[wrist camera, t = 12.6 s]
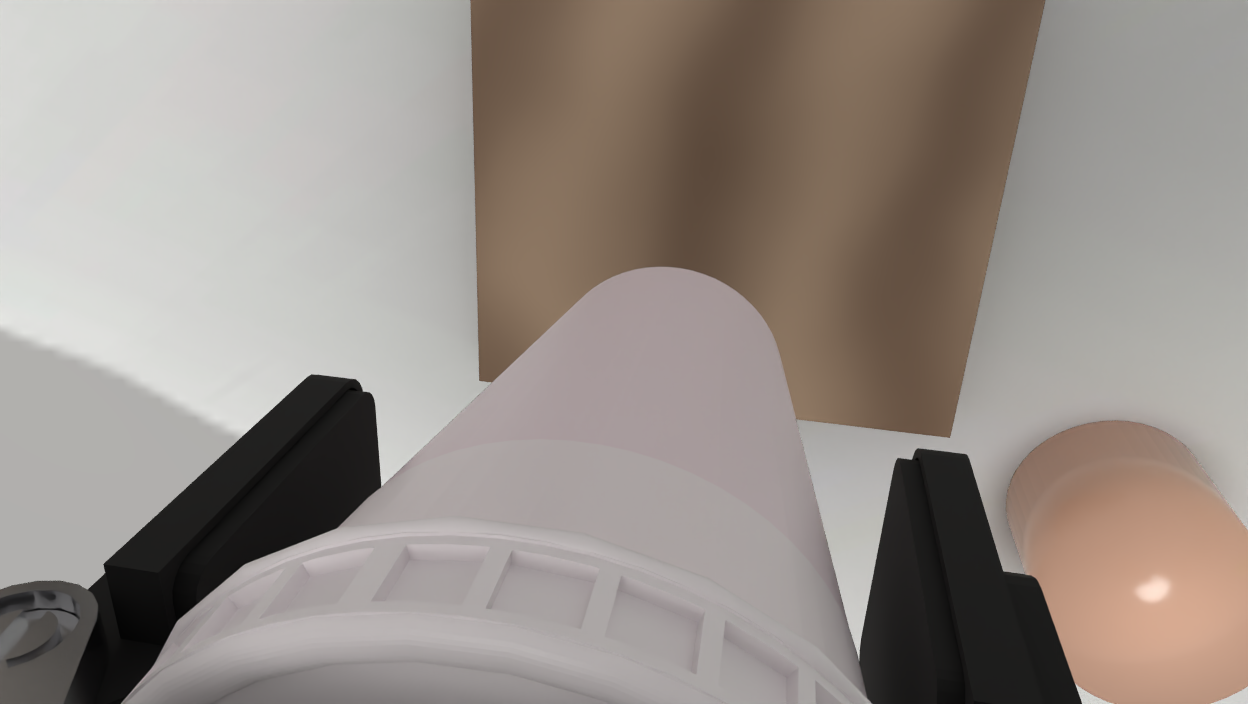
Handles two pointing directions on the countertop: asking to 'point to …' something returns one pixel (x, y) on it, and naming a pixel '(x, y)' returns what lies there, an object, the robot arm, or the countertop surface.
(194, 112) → the countertop surface
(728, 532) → the smoothie
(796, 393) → the walnut board
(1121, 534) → the peach rounded cylinder
